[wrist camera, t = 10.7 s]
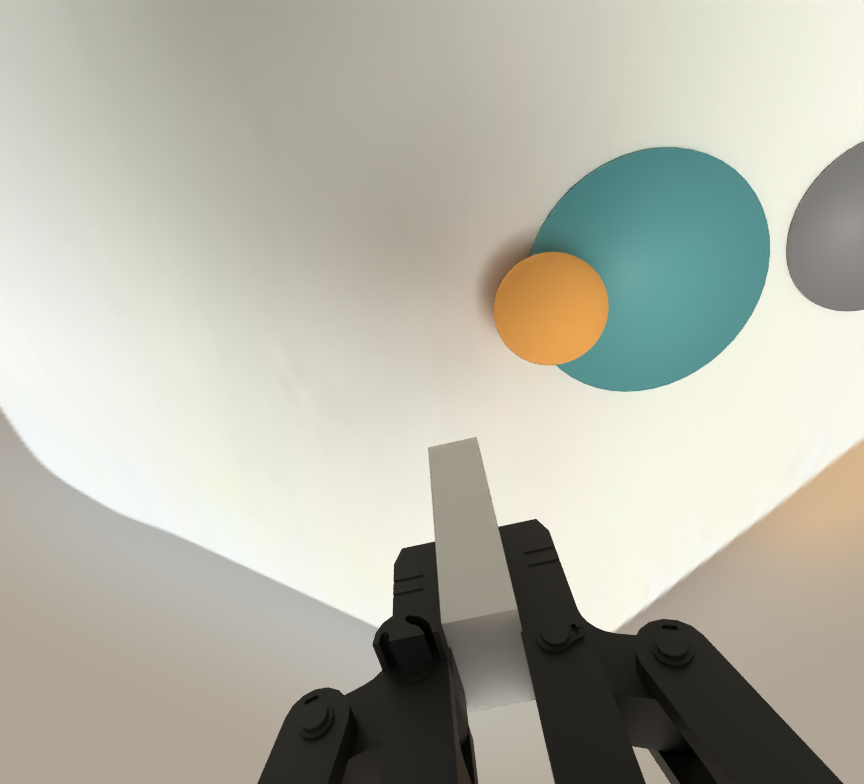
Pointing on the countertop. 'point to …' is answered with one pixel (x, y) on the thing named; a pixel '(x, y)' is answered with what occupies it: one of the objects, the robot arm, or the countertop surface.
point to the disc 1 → (662, 262)
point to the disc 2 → (831, 236)
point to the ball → (551, 308)
